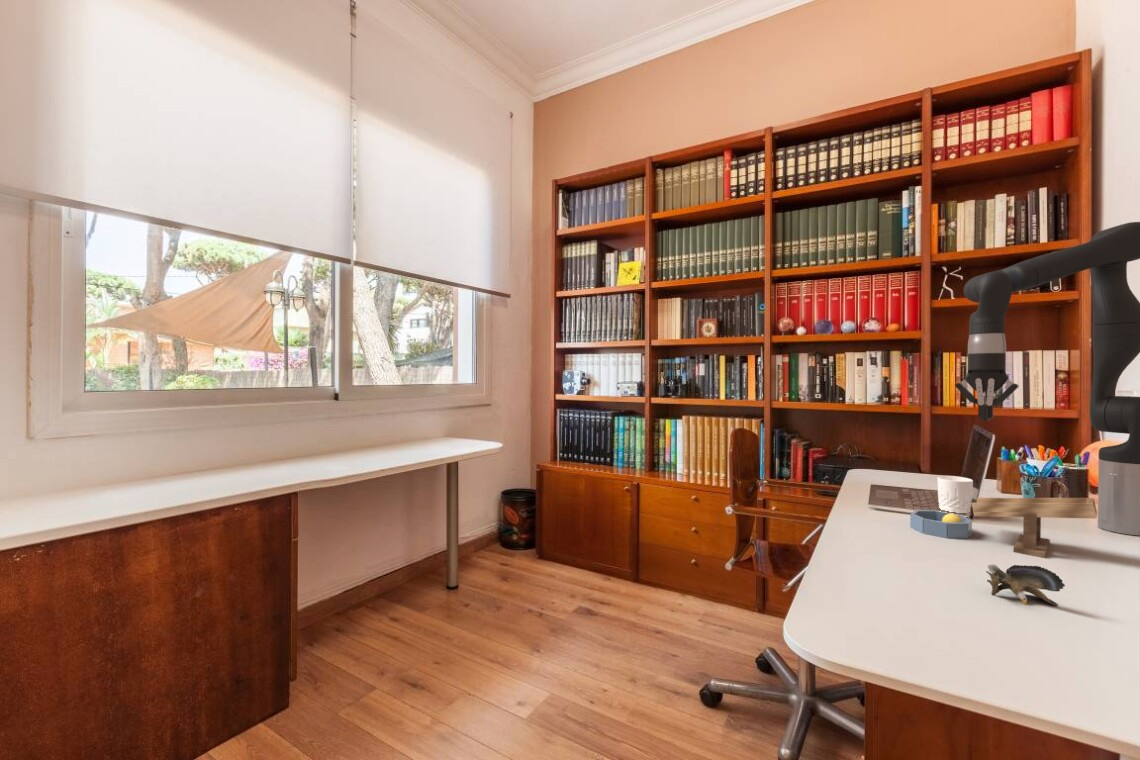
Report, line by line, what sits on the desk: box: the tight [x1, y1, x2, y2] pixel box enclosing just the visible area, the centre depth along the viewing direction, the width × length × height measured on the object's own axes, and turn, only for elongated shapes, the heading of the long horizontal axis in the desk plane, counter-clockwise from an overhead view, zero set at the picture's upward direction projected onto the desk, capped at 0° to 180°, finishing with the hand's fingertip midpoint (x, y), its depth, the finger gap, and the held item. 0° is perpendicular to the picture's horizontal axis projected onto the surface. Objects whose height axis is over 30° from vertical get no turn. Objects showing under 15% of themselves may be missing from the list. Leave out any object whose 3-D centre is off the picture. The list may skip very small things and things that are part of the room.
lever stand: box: [1012, 512, 1051, 559], centre depth 113 cm, size 5×13×9 cm, turn 133°
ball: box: [942, 514, 962, 523], centre depth 124 cm, size 4×4×4 cm
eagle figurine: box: [985, 563, 1066, 607], centre depth 87 cm, size 8×7×9 cm
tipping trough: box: [971, 497, 1098, 520], centre depth 116 cm, size 20×13×3 cm, turn 43°
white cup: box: [936, 475, 974, 513], centre depth 140 cm, size 8×8×10 cm
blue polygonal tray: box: [910, 509, 973, 539], centre depth 126 cm, size 12×12×4 cm
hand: (985, 420), depth 129 cm, fingers closed
